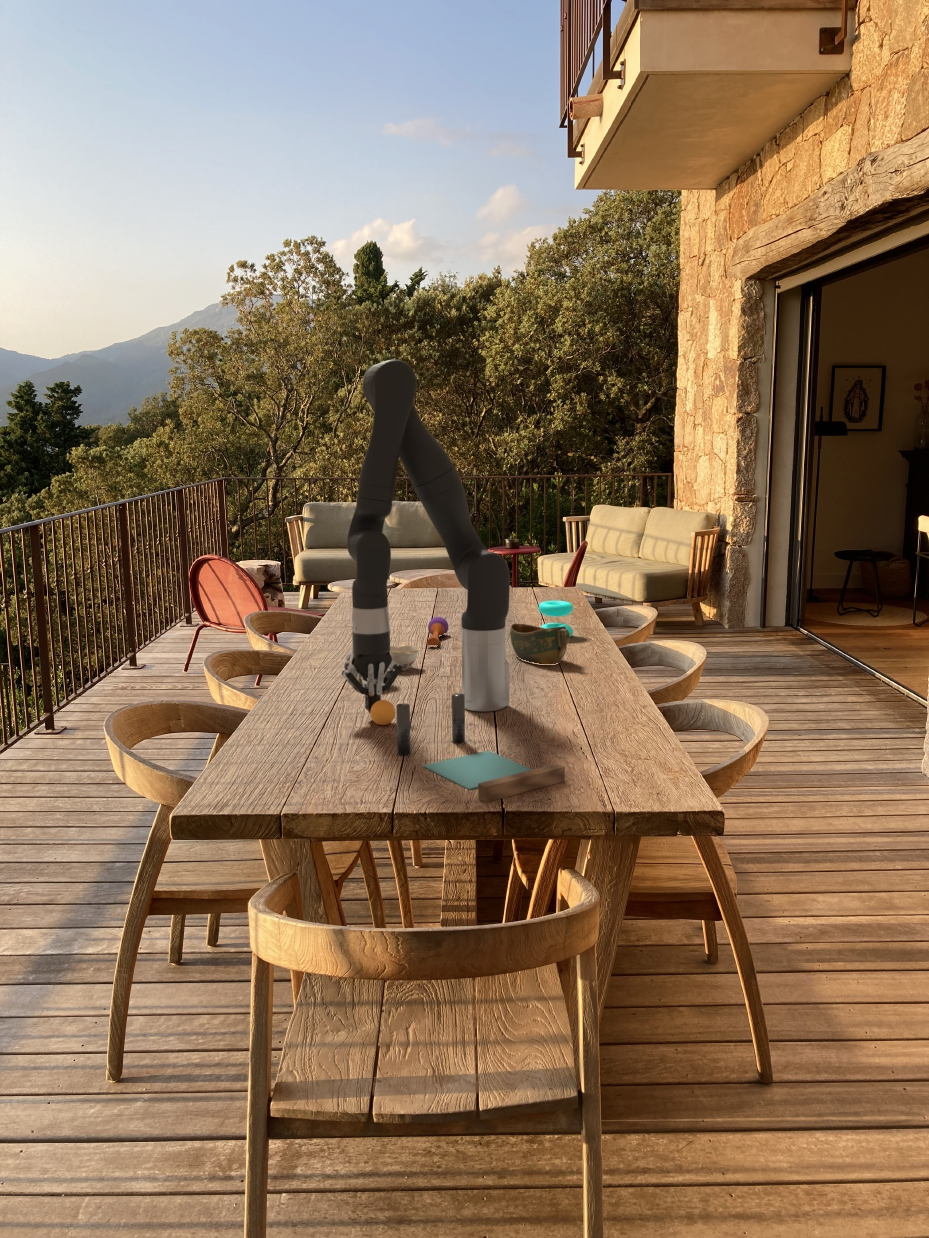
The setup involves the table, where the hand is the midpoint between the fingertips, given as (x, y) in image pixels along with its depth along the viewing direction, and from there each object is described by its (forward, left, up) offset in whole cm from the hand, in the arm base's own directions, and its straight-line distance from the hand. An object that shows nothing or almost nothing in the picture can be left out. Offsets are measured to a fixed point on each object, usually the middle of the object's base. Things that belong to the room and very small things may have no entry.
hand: (373, 712), depth 191 cm
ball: (0, +4, +1) cm, 5 cm away
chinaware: (-19, -32, -2) cm, 37 cm away
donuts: (-85, -44, -2) cm, 95 cm away
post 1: (+6, +22, -1) cm, 23 cm away
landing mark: (0, +37, -1) cm, 37 cm away
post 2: (-6, +22, -1) cm, 23 cm away
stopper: (0, +49, -1) cm, 49 cm away
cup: (-61, -22, -2) cm, 64 cm away
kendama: (-53, -59, -2) cm, 80 cm away
